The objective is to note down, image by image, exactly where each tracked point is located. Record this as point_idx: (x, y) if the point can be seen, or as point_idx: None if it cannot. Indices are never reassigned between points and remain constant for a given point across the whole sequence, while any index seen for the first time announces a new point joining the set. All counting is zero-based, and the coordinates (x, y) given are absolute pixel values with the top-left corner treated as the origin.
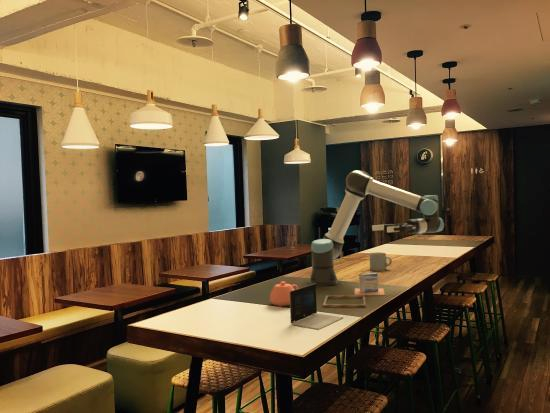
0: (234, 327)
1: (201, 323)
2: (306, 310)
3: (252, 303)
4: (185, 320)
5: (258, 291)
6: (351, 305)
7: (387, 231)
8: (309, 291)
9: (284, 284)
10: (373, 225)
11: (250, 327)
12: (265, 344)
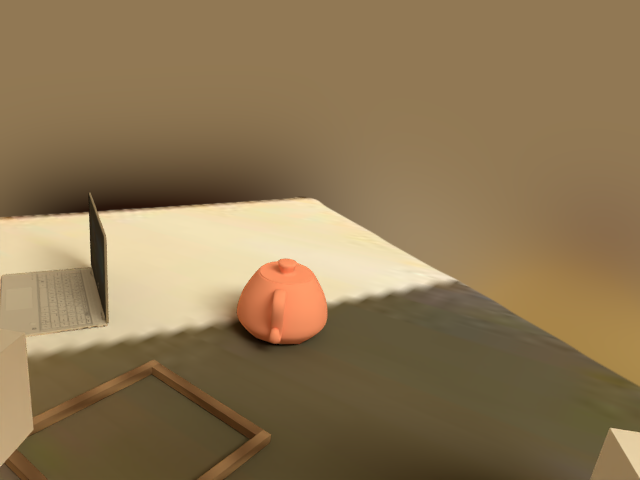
0: (177, 233)
1: (247, 224)
2: (99, 280)
3: (346, 299)
4: (286, 221)
5: (511, 357)
6: (51, 409)
7: (17, 412)
8: (100, 240)
9: (280, 269)
10: (614, 440)
11: (152, 240)
12: (45, 222)
